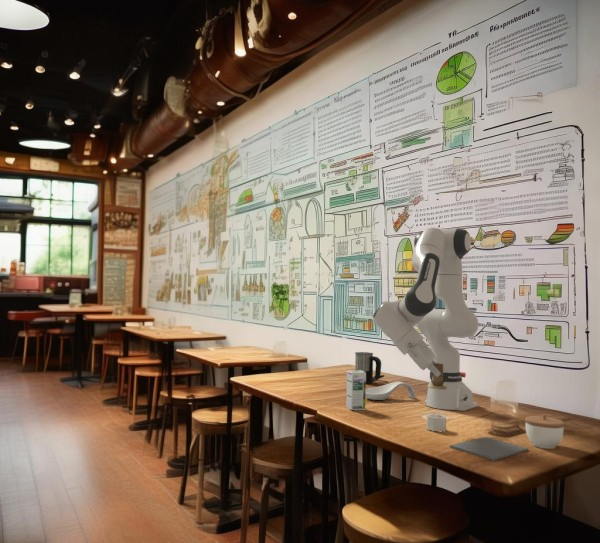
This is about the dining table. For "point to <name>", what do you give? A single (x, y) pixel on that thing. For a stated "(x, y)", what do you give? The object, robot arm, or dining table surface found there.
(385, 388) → the spoon rest
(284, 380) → the dining table surface
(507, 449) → the mat
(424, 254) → the robot arm
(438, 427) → the white octagonal base
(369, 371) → the milk frother
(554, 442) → the lidded jar
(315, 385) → the dining table surface
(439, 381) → the brown peg on disc
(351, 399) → the syrup box
